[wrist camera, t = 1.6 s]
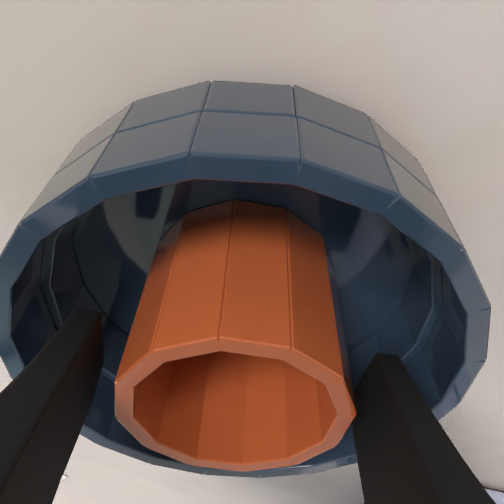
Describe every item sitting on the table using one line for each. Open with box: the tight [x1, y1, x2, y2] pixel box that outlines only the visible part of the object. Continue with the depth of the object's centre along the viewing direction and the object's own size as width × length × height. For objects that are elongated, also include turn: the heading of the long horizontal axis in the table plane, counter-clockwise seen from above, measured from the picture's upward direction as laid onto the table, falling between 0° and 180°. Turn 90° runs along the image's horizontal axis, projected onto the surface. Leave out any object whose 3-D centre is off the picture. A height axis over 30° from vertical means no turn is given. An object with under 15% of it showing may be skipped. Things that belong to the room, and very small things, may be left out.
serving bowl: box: [0, 81, 491, 478], centre depth 13 cm, size 12×12×4 cm
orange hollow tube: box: [114, 199, 357, 472], centre depth 13 cm, size 6×6×5 cm
